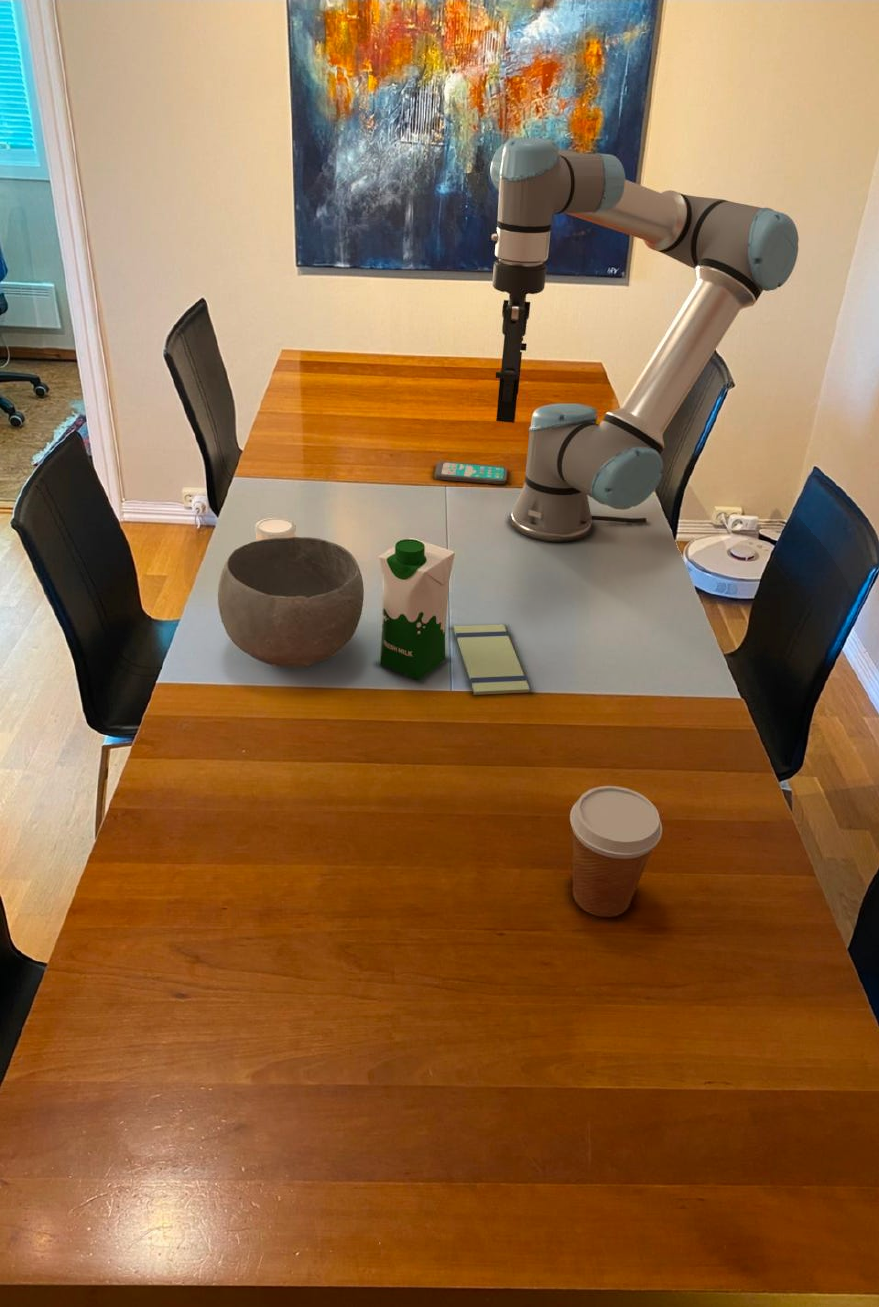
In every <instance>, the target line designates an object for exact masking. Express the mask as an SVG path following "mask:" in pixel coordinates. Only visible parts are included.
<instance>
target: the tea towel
mask: <svg viewBox="0 0 879 1307" xmlns="http://www.w3.org/2000/svg"><path fill="white" fill-rule="evenodd" d="M453 631H454V634H455V638H456V641H457V644H458V647H459V651H460V654H461V656H462V659H463V663H464V666H465V670H466V673H467V676H468V678H469V682H470V685H471V688H472V691H473V695H475V696H478V695H480V696H481V695H503V694H523V693H525V694H527V693H530V690H531V689H530V686H529V683H528V681H527V678H526V676H525V674H524V671H523V670H522V667H521V666H522V665H521V664H520V661H519V659H518V656H517V654H516V650H515V649H514V646H513V644H512V642H511V639H510V636H509V634H508V631H507V629H506V626H505V624H503V623H502V624H476V625H475V624H473V625H454V626H453Z"/></svg>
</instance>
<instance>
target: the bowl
mask: <svg viewBox="0 0 879 1307" xmlns="http://www.w3.org/2000/svg"><path fill="white" fill-rule="evenodd" d="M363 580H364V579H363V576H362V573H361V570H360V567H359V564H358V562H357V560H356V558H355V557H354V556H353V554H352V553H351V552H350V551H349V550H348V549H346V548H345V547H343V546H341V545H339V544H337V543H335V542H333V541H328V540H325V539H322V538H317V537H309V536H301V537H300V536H295V537H290V538H271V539H264V540H259V541H257V540H255V541H251V542H249V543H246V544H244V545H242V546H240V547H238V548H236V549H234V551H233V552H232V553H230V555H229V556H228V557H227V559H226V561H225V563H224V565H223V567H222V570H221V574H220V576H219V581H218V586H217V587H218V588H217V605H218V610H219V611H218V612H219V615H220V619H221V623H222V625H223V627H224V630H225V633H226V634H227V636H228V637H229V639H230V640H231V642H233V644H234V645H235V646H236V647H237V648H238V649H239V650H241V651H242V652H244V653H245V654H247V655H248V656H250V657H251V658H253V659H255V660H257V661H259V662H262V663H264V664H268V665H270V666H278V667H286V668H288V667H291V668H292V667H294V668H296V667H304V666H311V665H314V664H317V663H320V662H322V661H325V660H327V659H330V658H331V657H333V656H335V655H336V654H338V653H339V652H340V651H341V650H342V649H343V648H344V647H345V646H346V645H347V644H348V643H349V642H350V641H351V640H352V638H353V636H354V634H355V632H356V631H357V628H358V626H359V623H360V620H361V616H362V612H363V606H364V595H365V588H364V581H363Z"/></svg>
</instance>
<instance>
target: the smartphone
mask: <svg viewBox="0 0 879 1307" xmlns="http://www.w3.org/2000/svg"><path fill="white" fill-rule="evenodd" d="M433 476H434V479H436V480H440V481H441V480H443V481H454V482H464V483H465V482H466V483H467V482H468V483H477V484H478V483H479V484H491V485H505V484H507V479H508V467H506V466H504V465H495V464H494V465H493V464H482V463H469V462H457V461H438V462H437V463H436V466H435V471H434V475H433Z"/></svg>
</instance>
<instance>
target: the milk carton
mask: <svg viewBox="0 0 879 1307" xmlns="http://www.w3.org/2000/svg"><path fill="white" fill-rule="evenodd" d="M455 554H456V551H454V550H450V549H448V548H444V547H442V546H439V545H436V544H433V543H429V542H426V541H423V540H420V539H418V538H416V537H415V538H414V537H408V538H405V539H400V540H397V542H396V543H395V545H394V546H393V547H392V548H389V549H388V550H387V551H385V552H383V553H382V554H380V555H379V564H380V569H381V574H382V609H381V610H382V612H381V638H380V639H381V640H380V655H379V656H380V657H379V665H380V666H381V667H384V668H387V669H389V670H391V671H394V672H396V673H399V674H402V675H404V676H406V677H409V678H411V679H414V680H416V681H418V682H420V681H421V680H422V679H423V678H425V677H426V676H428V674H430V673H431V672H432V671H433V670H435V669H436V668H437V667H438V666H440V665H441V664H442V663H443V662H445V661H446V632H447V631H446V628H447V614H448V601H449V600H448V599H449V585H450V578H451V573H452V569H453V564H454V559H455Z"/></svg>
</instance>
